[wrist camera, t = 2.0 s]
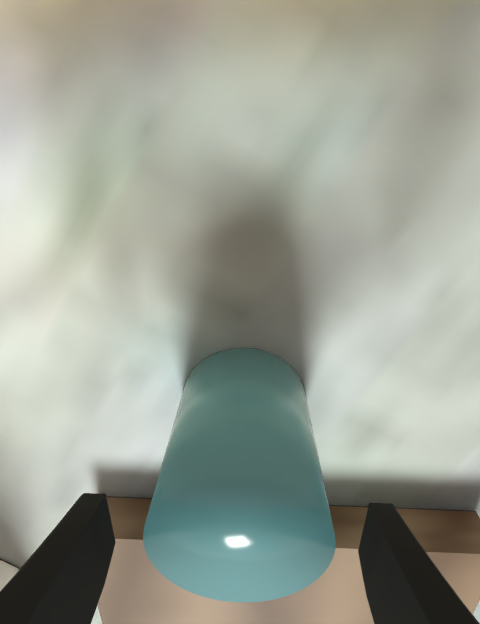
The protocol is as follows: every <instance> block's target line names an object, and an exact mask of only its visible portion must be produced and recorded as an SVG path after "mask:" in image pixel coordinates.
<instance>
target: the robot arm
mask: <svg viewBox="0 0 480 624" xmlns="http://www.w3.org/2000/svg"><path fill="white" fill-rule="evenodd" d="M115 543H116V541H115V537H114V532H113V527H112V522H111V517H110V512H109V507H108V502H107V498H106V494H91V493H84V494H83V495H81V496H80V497H79V499H78V500H77V501H76V502H75V504H74V505H73V506H72V507H71V509H70V510H69V511H68V512H67V514H66V515H65V516H64V517H63V519H62V520H61V521H60V522H59V523H58V525H57V526H56V527H55V528H54V530H53V531H52V532H51V533H50V534H49V536H48V537H47V538H46V539H45V540H44V542H43V543H42V544H41V545H40V546H39V548H38V549H37V550H36V551H35V552H34V553H33V554H32V556H31V557H30V558H29V559H28V560H27V561H26V563H25V564H24V565H23V566H22V567H21V568H20V569H19V571H18V572H17V573H16V574H15V575H14V576H13V578H12V579H11V580H10V581H9V582H8V583H7V584H6V585H5V586H4V588H3V589H2V590H1V591H0V624H91V621H92V618H93V615H94V613H95V610H96V607H97V604H98V602H99V599H100V596H101V593H102V591H103V588H104V585H105V581H106V577H107V574H108V570H109V566H110V562H111V559H112V555H113V551H114V547H115ZM358 554H359V559H360V565H361V570H362V576H363V581H364V586H365V591H366V596H367V599H368V603H369V607H370V610H371V614H372V617H373V621H374V624H479V622H478V621H477V620H476V618H475V617H474V616H473V615H472V613H471V612H470V611H469V610H468V608H467V607H466V606H465V604H464V603H463V602H462V600H461V599H460V598H459V596H458V595H457V594H456V592H455V591H454V590H453V588H452V587H451V586H450V584H449V583H448V582H447V580H446V579H445V578H444V576H443V575H442V574H441V572H440V571H439V570H438V568H437V567H436V566H435V564H434V563H433V561H432V560H431V559H430V557H429V556H428V554H427V553H426V551H425V550H424V549H423V547H422V546H421V544H420V543H419V542H418V540H417V539H416V537H415V536H414V534H413V533H412V531H411V530H410V528H409V527H408V526H407V524H406V523H405V521H404V520H403V518H402V517H401V515H400V514H399V512H398V511H397V509H396V508H395V506H394V505H393V504H382V503H369V506H368V510H367V515H366V519H365V523H364V528H363V532H362V536H361V541H360V545H359V549H358Z"/></svg>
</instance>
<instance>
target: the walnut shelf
mask: <svg viewBox="0 0 480 624" xmlns="http://www.w3.org/2000/svg"><path fill="white" fill-rule="evenodd" d="M106 498H107V502H108V507H109V512H110V517H111V522H112V527H113V532H114V537H115V541H116V543H115V547H114V551H113V555H112V559H111V562H110V566H109V570H108V574H107V577H106V581H105V585H104V588H103V591H102V593H101V596H100V599H99V602H98V604H97V605H98V608H99V612H100V616H101V620H102V623H103V624H374V621H373V617H372V614H371V610H370V607H369V603H368V599H367V596H366V591H365V586H364V581H363V576H362V570H361V565H360V559H359V554H358V549H359V545H360V541H361V536H362V532H363V528H364V523H365V519H366V515H367V510H368V507H348V506H329V510H330V514H331V519H332V524H333V529H334V533H335V541H336V545H335V553H334V556H333V559H332V561H331V563H330V565H329V567H328V568H327V569H326V571H325V572H324V573H323V574H322V575H321V576H320V577H319V578H318V579H317V580H316V581H315V582H313V583H312V584H311V585H309V586H307V587H306V588H304V589H302V590H300V591H298V592H296V593H293V594H291V595H288V596H285V597H282V598H278V599H274V600H268V601H262V602H226V601H220V600H214V599H210V598H206V597H203V596H200V595H197V594H194V593H191V592H189V591H187V590H184V589H182V588H181V587H179V586H177V585H175V584H174V583H172V582H171V581H169V580H168V579H167V578H165V577H164V576H163V575H162V574H161V573H160V572H159V571H158V570H157V569H156V568H155V567H154V566H153V564H152V563H151V561H150V560H149V558H148V556H147V554H146V551H145V548H144V544H143V531H144V526H145V522H146V519H147V515H148V512H149V508H150V505H151V501H152V499H144V498H119V497H106ZM396 509H397V511H398V512H399V514H400V515H401V517H402V518H403V520H404V521H405V523H406V524H407V526H408V527H409V528H410V530H411V531H412V533H413V534H414V536H415V537H416V539H417V540H418V542H419V543H420V544H421V546H422V547H423V549H424V550H425V551H426V553H427V554H428V556H429V557H430V559H431V560H432V561H433V563H434V564H435V566H436V567H437V568H438V570H439V571H440V572H441V574H442V575H443V576H444V578H445V579H446V580H447V582H448V583H449V584H450V586H451V587H452V588H453V590H454V591H455V592H456V594H457V595H458V596H459V598H460V599H461V600H462V602H463V603H464V604H465V606H466V607H467V608H468V610H469V611H470V612H471V613H472V615H473V613H474V611H475V609H476V607H477V605H478V603H479V601H480V518H479V516H478V514H477V513H476V511H450V510H425V509H399V508H396Z"/></svg>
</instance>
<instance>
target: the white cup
mask: <svg viewBox="0 0 480 624" xmlns="http://www.w3.org/2000/svg"><path fill="white" fill-rule="evenodd" d="M18 571H19V569H18V568H16V567H15V566H12V565H10V564H8V563H6V562H3V561H1V560H0V591H1V590H2V589H3V588H4V586H5V585H6V584H7V583H8V582H9V581H10V580H11V579H12V578H13V576H14V575H15V574H16V573H17V572H18Z"/></svg>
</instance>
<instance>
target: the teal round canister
mask: <svg viewBox="0 0 480 624" xmlns="http://www.w3.org/2000/svg"><path fill="white" fill-rule="evenodd" d="M143 544H144V548H145V551H146V554H147V556H148V558H149V560H150V561H151V563H152V564H153V566H154V567H155V568H156V569H157V570H158V571H159V572H160V573H161V574H162V575H163V576H164V577H165V578H167V579H168V580H169V581H171V582H172V583H174V584H175V585H177V586H179V587H181V588H182V589H184V590H187V591H189V592H191V593H194V594H197V595H200V596H203V597H206V598H210V599H214V600H220V601H226V602H262V601H268V600H274V599H278V598H282V597H285V596H288V595H291V594H293V593H296V592H298V591H300V590H302V589H304V588H306V587H307V586H309V585H311V584H312V583H313V582H315V581H316V580H317V579H318V578H319V577H320V576H321V575H322V574H323V573H324V572H325V571H326V569H327V568H328V567H329V565H330V563H331V561H332V559H333V556H334V553H335V545H336V541H335V533H334V529H333V524H332V519H331V514H330V510H329V505H328V500H327V495H326V491H325V486H324V481H323V476H322V472H321V467H320V462H319V457H318V453H317V448H316V443H315V438H314V434H313V429H312V424H311V419H310V415H309V410H308V405H307V400H306V396H305V391H304V387H303V384H302V382H301V379H300V377H299V376H298V374H297V373H296V371H295V370H294V369H293V368H292V367H291V366H290V365H289V364H288V363H286V362H285V361H284V360H282V359H281V358H279V357H278V356H276V355H273V354H271V353H269V352H266V351H263V350H258V349H253V348H233V349H227V350H223V351H220V352H217V353H215V354H212V355H211V356H209V357H207V358H205V359H204V360H203V361H201V362H200V363H199V364H198V365H197V366H196V367H195V368H194V369H193V370H192V372H191V373H190V375H189V376H188V378H187V380H186V383H185V386H184V390H183V393H182V397H181V400H180V404H179V407H178V411H177V414H176V418H175V421H174V425H173V428H172V432H171V435H170V439H169V442H168V445H167V449H166V452H165V456H164V459H163V463H162V466H161V470H160V473H159V477H158V480H157V484H156V487H155V491H154V494H153V498H152V501H151V505H150V508H149V512H148V515H147V519H146V522H145V526H144V531H143Z"/></svg>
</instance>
